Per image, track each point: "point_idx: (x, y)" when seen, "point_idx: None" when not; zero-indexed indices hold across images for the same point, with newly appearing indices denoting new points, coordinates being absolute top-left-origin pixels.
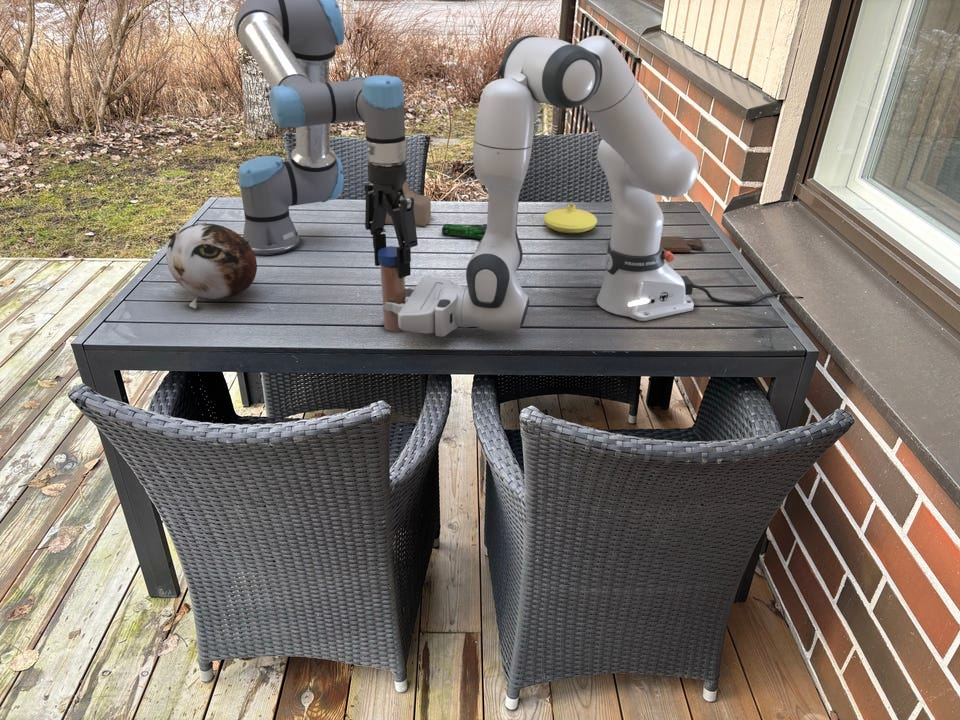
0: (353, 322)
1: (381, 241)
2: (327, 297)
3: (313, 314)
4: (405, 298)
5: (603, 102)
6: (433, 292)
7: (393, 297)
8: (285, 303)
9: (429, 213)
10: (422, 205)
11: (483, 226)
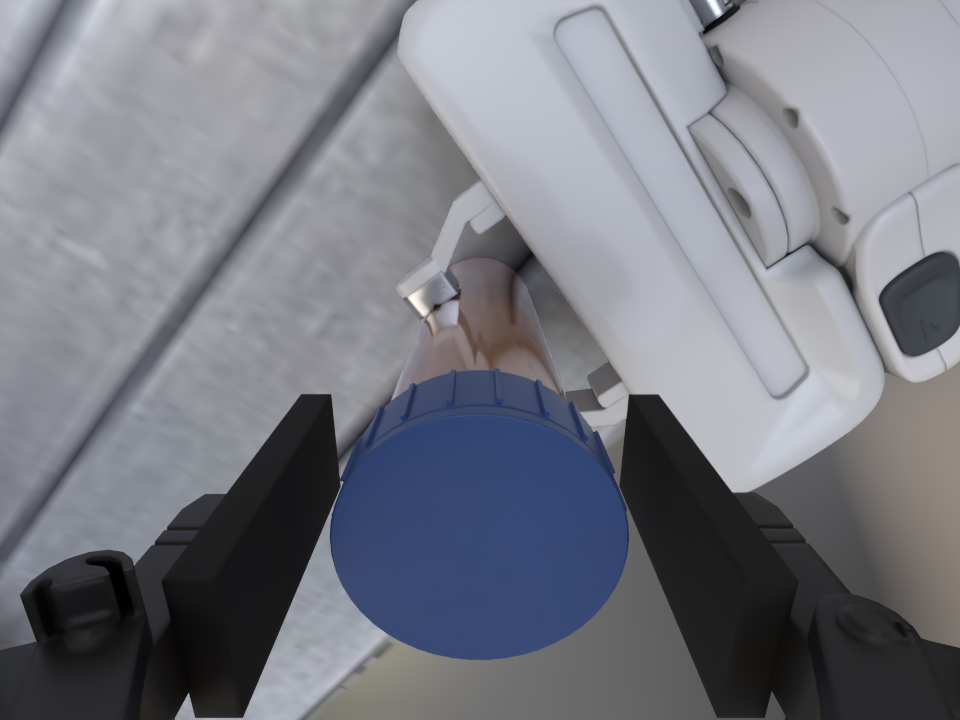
0: (337, 419)
1: (259, 582)
2: (45, 377)
3: (180, 495)
4: (532, 313)
5: None
6: (653, 168)
7: None
8: (27, 526)
9: None
10: None
11: None
